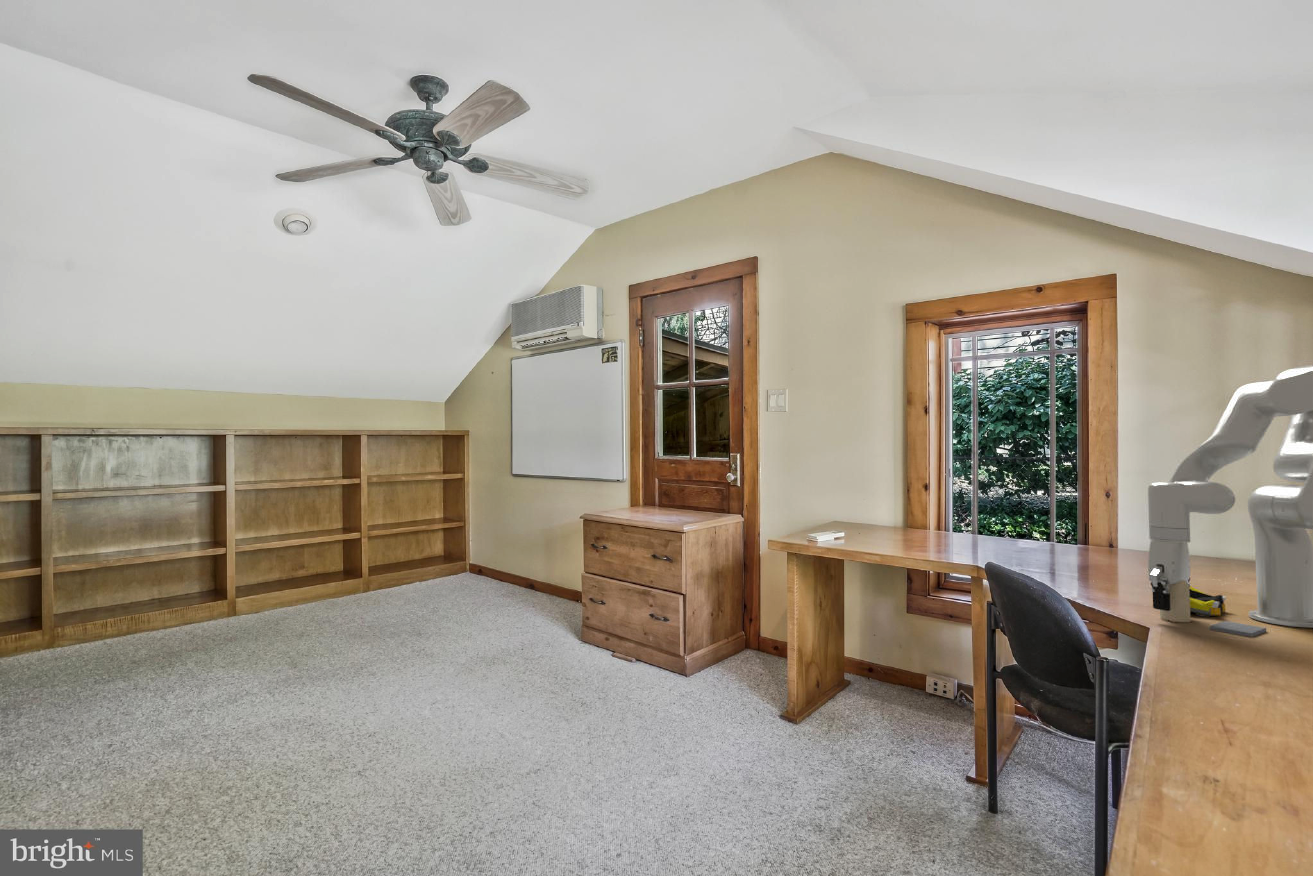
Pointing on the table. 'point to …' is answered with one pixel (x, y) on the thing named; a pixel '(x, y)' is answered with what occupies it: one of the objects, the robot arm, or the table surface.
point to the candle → (1178, 603)
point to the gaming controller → (1206, 603)
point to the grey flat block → (1238, 628)
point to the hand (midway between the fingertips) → (1171, 607)
